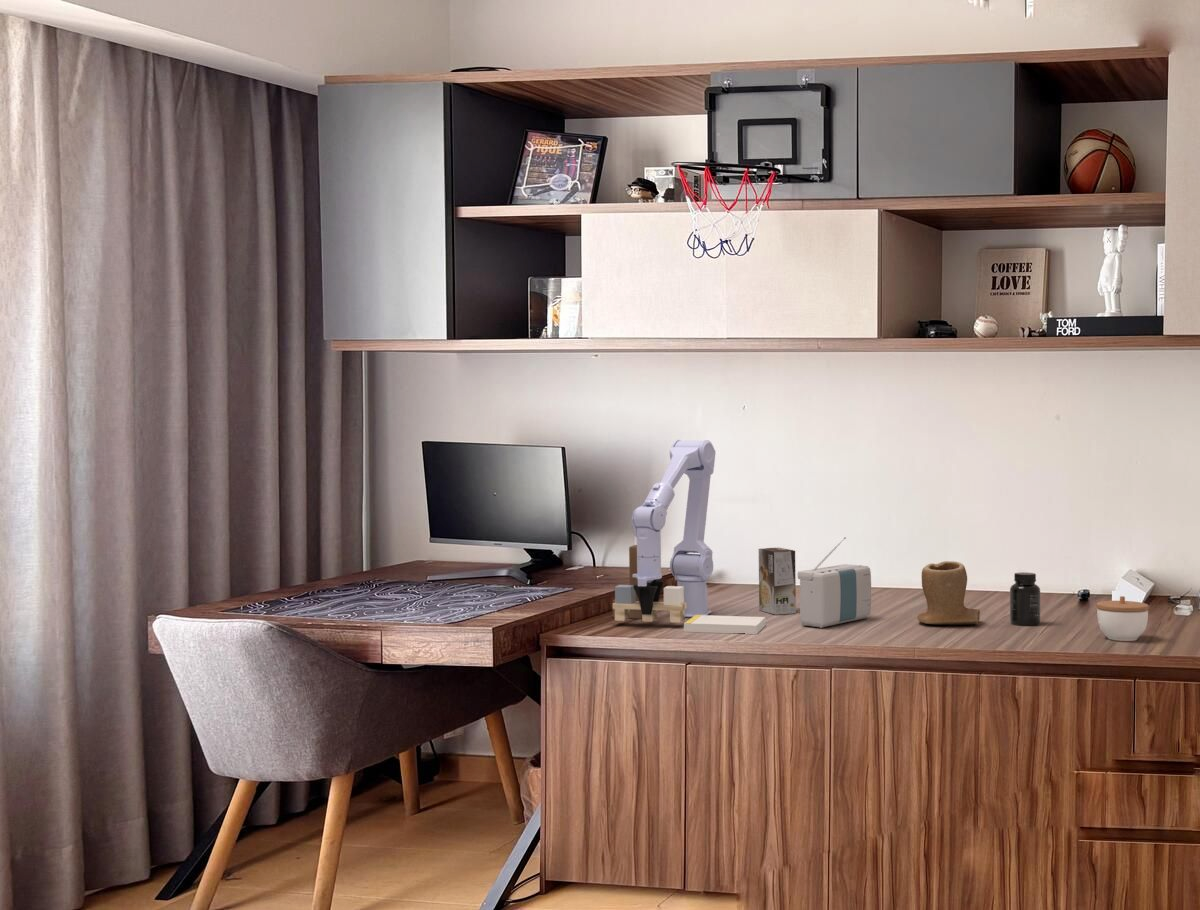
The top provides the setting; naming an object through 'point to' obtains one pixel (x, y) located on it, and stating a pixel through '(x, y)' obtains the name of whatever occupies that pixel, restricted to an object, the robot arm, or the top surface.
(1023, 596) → the supplement bottle
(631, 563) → the wooden block
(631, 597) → the pale grey square box
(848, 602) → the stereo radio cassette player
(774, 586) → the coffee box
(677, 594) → the greyish beige cube
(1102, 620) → the lidded jar
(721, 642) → the top surface
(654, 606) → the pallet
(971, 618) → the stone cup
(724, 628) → the dock
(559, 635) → the top surface
